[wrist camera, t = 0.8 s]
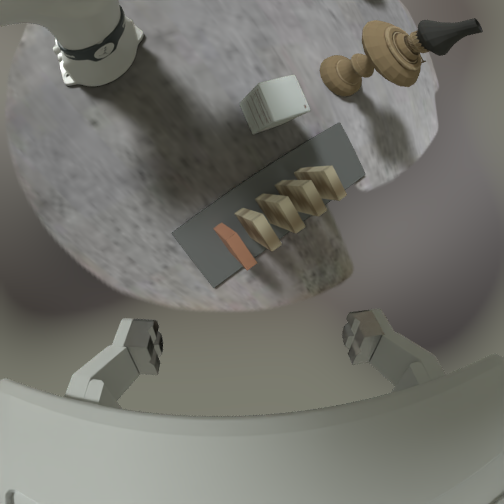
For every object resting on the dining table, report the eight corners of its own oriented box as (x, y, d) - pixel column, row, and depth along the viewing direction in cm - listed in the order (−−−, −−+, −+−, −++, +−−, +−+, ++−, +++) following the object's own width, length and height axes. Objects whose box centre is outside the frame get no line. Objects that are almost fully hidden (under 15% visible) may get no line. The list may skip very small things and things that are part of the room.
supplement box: (269, 93, 50) (296, 73, 38) (282, 124, 52) (312, 111, 40) (237, 103, 48) (257, 82, 37) (251, 135, 51) (275, 122, 39)
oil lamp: (335, 113, 55) (492, 78, 18) (300, 61, 49) (435, -20, 12) (371, 91, 56) (505, 61, 19) (341, 44, 51) (463, -14, 14)
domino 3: (254, 198, 53) (278, 203, 42) (262, 193, 54) (288, 196, 42) (270, 223, 56) (296, 233, 44) (277, 217, 56) (305, 226, 45)
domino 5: (293, 172, 54) (324, 171, 43) (300, 167, 55) (332, 165, 44) (307, 196, 57) (339, 200, 45) (313, 191, 57) (347, 194, 46)
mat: (171, 232, 51) (171, 233, 50) (337, 122, 56) (339, 122, 55) (213, 286, 56) (213, 288, 55) (363, 174, 61) (365, 174, 60)
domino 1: (213, 228, 52) (226, 240, 41) (221, 222, 53) (236, 232, 41) (230, 252, 54) (247, 270, 43) (238, 246, 55) (257, 262, 44)
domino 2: (234, 213, 53) (252, 221, 42) (242, 207, 53) (263, 213, 42) (250, 237, 55) (272, 251, 44) (258, 232, 55) (282, 244, 44)
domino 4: (274, 185, 54) (302, 186, 43) (282, 180, 54) (311, 179, 43) (289, 209, 56) (318, 216, 45) (296, 204, 56) (327, 210, 45)
